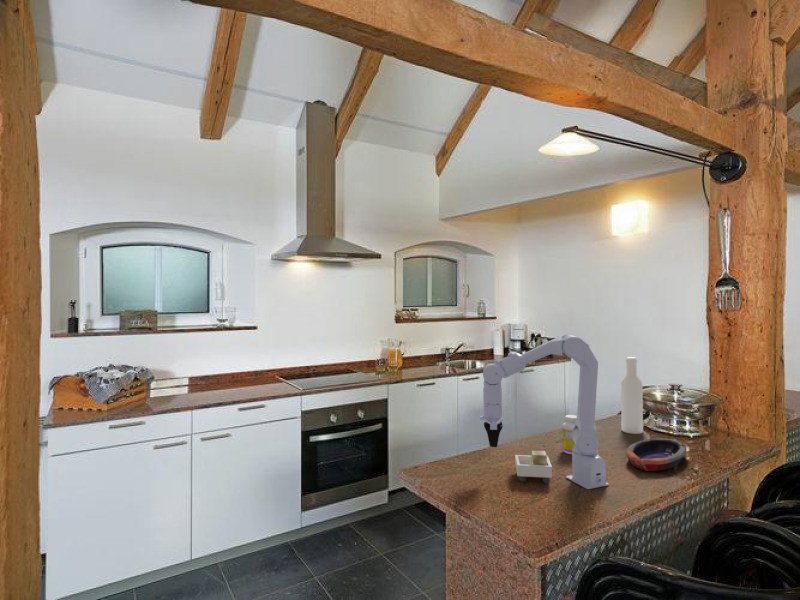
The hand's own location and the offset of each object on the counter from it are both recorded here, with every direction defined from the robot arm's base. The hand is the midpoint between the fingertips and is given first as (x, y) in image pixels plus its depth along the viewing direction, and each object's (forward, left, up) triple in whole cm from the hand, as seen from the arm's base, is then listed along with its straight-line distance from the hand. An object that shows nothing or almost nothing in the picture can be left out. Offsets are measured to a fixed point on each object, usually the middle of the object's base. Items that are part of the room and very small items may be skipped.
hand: (493, 446), depth 146 cm
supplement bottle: (+8, -37, -10) cm, 39 cm away
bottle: (+19, -76, -10) cm, 79 cm away
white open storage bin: (-6, -10, -9) cm, 15 cm away
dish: (-9, -57, -10) cm, 58 cm away
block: (-7, -12, -6) cm, 15 cm away
